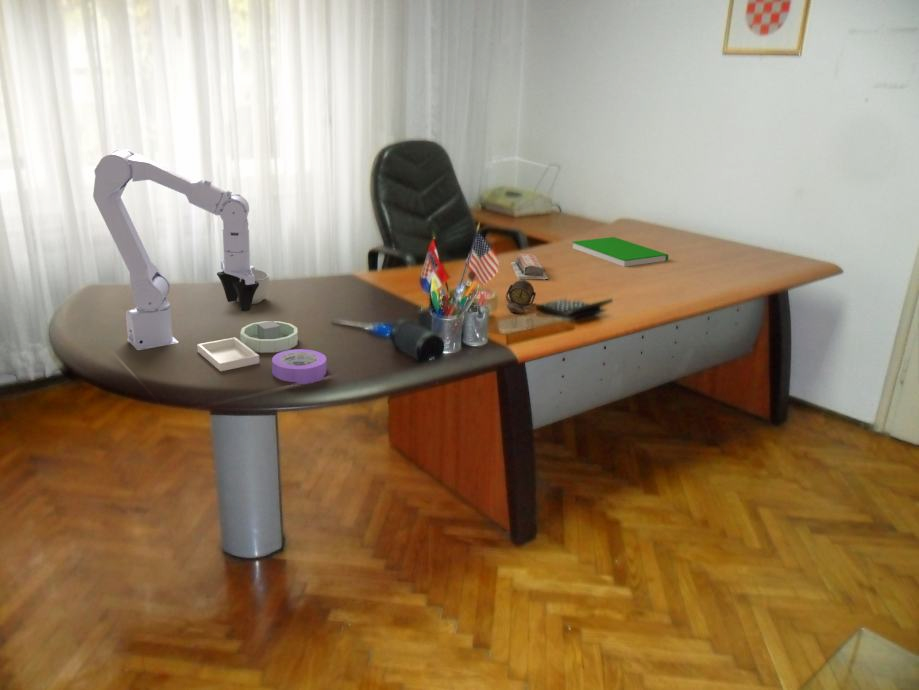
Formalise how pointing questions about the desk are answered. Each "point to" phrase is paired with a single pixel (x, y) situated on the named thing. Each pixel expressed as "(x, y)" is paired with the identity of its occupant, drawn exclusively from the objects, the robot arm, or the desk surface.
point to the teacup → (260, 285)
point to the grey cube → (268, 330)
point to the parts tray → (228, 354)
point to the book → (619, 251)
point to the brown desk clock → (520, 296)
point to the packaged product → (528, 267)
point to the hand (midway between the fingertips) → (238, 305)
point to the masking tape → (302, 374)
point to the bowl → (270, 345)
